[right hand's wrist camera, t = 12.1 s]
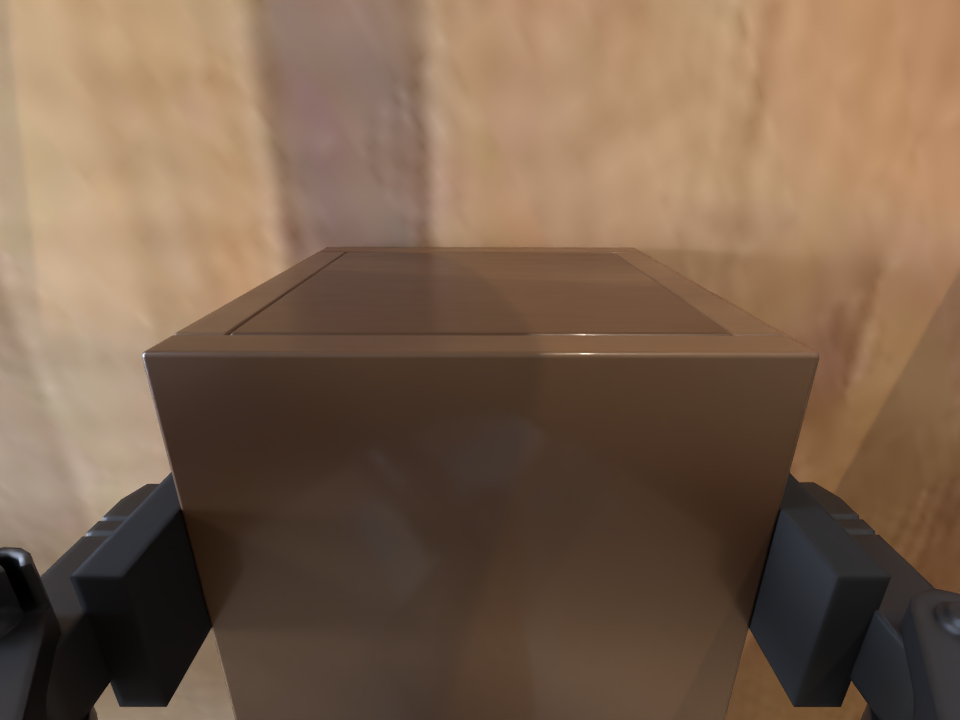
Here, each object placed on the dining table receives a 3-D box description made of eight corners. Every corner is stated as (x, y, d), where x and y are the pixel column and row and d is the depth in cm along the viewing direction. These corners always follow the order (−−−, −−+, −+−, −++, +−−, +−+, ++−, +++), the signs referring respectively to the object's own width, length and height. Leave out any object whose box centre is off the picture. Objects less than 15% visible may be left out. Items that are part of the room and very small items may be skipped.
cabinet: (585, 689, 24) (650, 1009, 15) (373, 689, 24) (308, 1009, 15) (635, 247, 17) (822, 353, 8) (325, 246, 17) (138, 352, 8)
